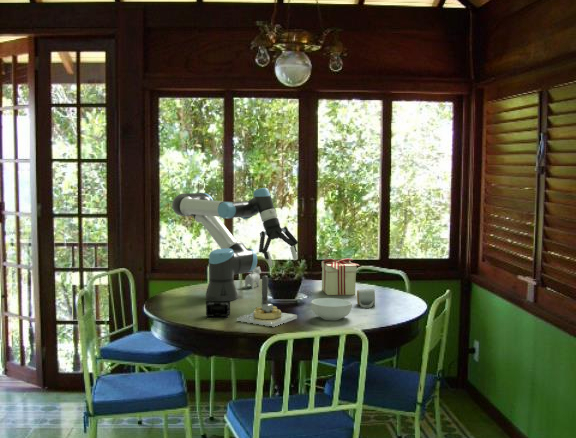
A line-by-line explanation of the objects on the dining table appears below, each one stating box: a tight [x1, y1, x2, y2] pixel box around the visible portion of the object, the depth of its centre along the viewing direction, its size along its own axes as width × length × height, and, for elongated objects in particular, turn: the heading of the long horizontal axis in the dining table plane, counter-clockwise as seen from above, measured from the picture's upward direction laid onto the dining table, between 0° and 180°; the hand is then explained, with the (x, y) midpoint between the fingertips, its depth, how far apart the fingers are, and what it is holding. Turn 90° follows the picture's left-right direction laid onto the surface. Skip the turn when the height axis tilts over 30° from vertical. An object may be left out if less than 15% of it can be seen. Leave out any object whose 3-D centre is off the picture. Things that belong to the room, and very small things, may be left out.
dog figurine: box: [244, 266, 262, 290], centre depth 353 cm, size 5×13×11 cm, turn 157°
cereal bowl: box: [310, 297, 353, 321], centre depth 282 cm, size 17×17×7 cm
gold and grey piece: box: [253, 275, 282, 319], centre depth 280 cm, size 16×11×15 cm
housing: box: [236, 303, 298, 328], centre depth 278 cm, size 18×18×6 cm
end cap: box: [205, 300, 231, 319], centre depth 284 cm, size 10×7×7 cm
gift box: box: [321, 258, 361, 296], centre depth 337 cm, size 17×18×17 cm
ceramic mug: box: [356, 288, 376, 309], centre depth 307 cm, size 11×8×8 cm
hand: (283, 262), depth 313 cm, fingers open, 13 cm apart
